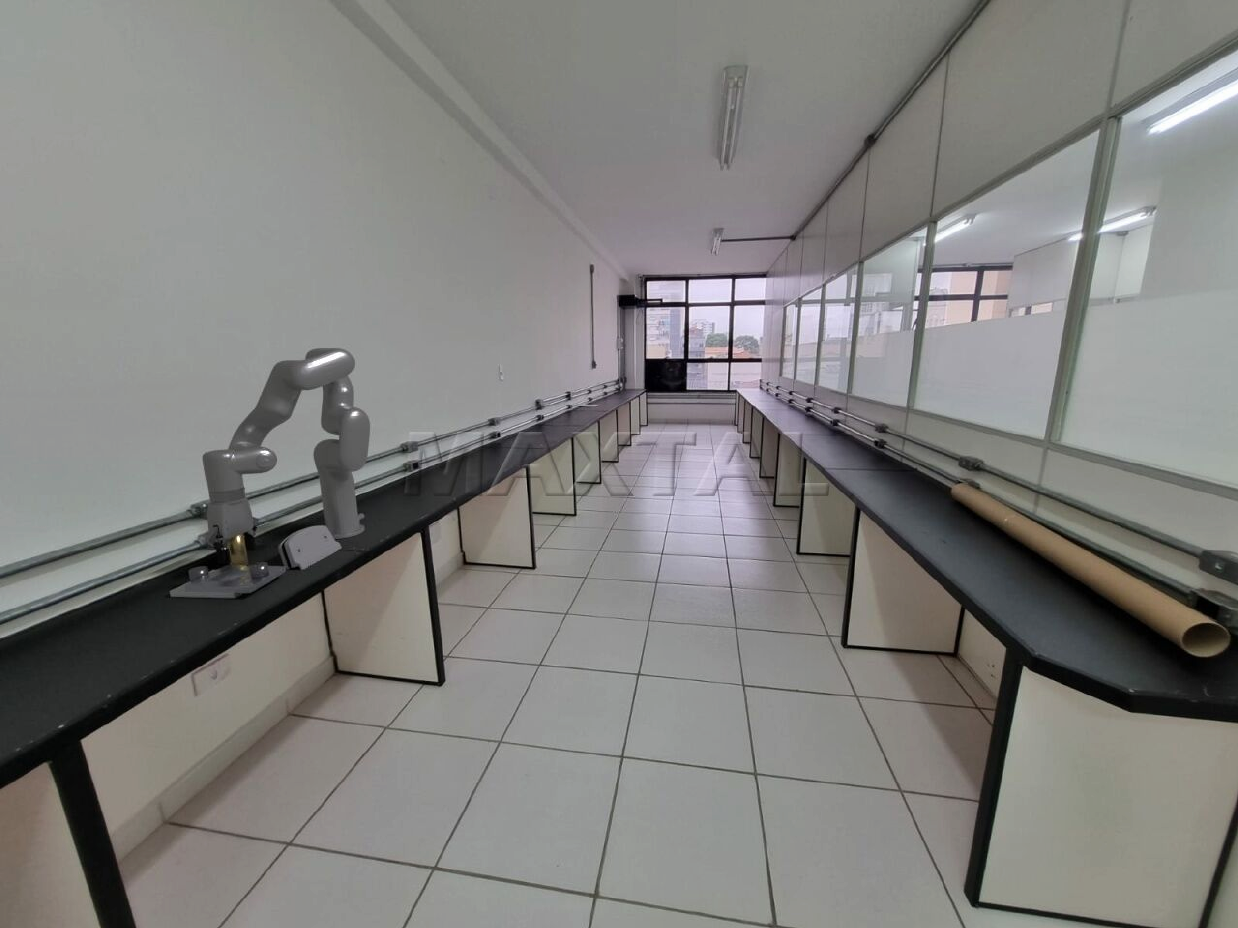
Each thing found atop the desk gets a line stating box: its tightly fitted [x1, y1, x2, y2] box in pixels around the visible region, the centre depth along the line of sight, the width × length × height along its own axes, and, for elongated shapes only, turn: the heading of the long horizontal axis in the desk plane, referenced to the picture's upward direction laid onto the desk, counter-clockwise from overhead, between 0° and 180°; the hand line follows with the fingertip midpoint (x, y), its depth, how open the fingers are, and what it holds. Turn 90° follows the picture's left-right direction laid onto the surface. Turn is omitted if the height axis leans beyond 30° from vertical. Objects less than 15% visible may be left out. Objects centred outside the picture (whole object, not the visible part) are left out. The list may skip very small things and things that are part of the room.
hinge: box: [277, 524, 342, 571], centre depth 138 cm, size 17×5×10 cm, turn 174°
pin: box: [227, 533, 249, 566], centre depth 132 cm, size 4×4×10 cm
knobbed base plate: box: [169, 561, 287, 599], centre depth 120 cm, size 12×20×6 cm, turn 88°
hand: (237, 555), depth 132 cm, fingers open, 7 cm apart
